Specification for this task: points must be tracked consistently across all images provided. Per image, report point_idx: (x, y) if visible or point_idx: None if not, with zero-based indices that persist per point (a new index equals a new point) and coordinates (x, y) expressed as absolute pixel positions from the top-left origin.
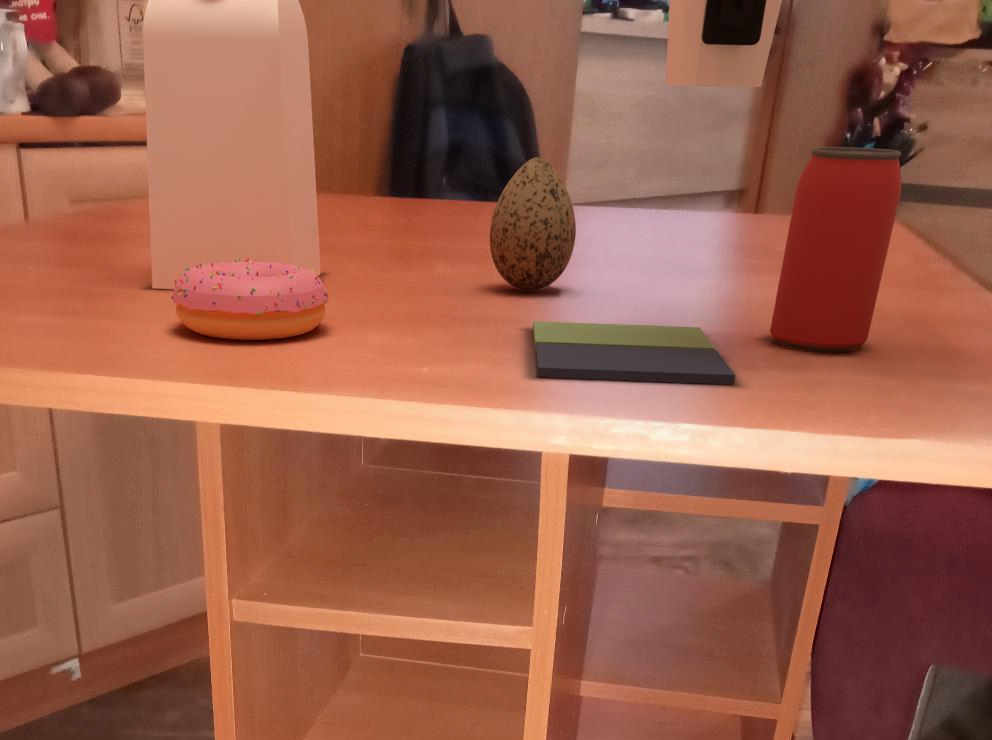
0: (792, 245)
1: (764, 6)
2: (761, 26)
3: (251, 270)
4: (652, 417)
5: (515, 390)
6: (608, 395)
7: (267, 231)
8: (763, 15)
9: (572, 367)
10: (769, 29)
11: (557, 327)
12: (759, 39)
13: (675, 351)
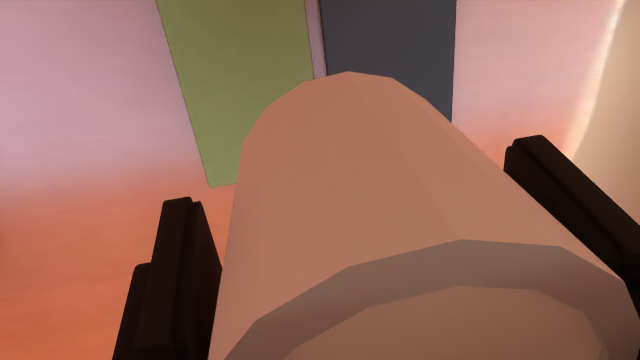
0: None
1: (579, 174)
2: (554, 149)
3: None
4: (593, 26)
5: (497, 151)
6: (511, 72)
7: None
8: (569, 162)
9: (446, 118)
10: (446, 128)
11: (239, 159)
12: (540, 135)
13: (339, 16)
